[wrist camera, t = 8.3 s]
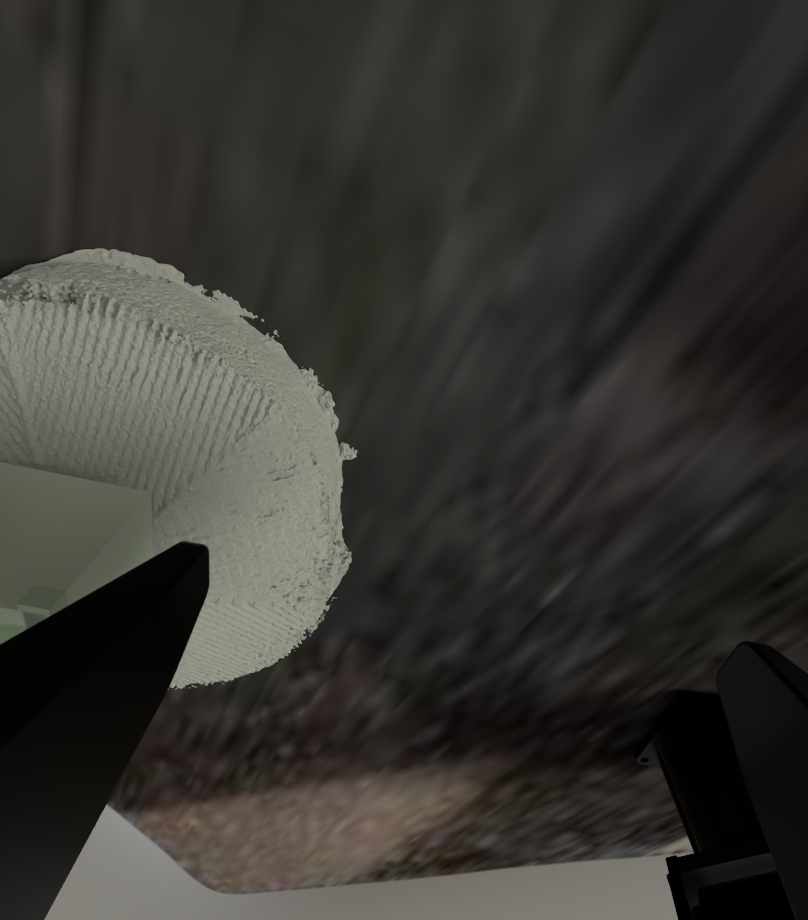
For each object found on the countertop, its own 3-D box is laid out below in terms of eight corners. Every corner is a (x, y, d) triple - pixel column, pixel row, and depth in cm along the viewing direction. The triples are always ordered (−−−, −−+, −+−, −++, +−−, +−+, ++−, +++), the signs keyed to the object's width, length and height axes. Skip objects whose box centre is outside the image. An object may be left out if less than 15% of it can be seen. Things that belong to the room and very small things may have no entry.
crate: (159, 682, 20) (85, 822, 16) (-4, 654, 20) (-126, 791, 15) (154, 487, 15) (49, 609, 11) (-58, 445, 15) (-255, 555, 11)
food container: (-179, 290, 20) (-440, 345, 14) (313, 211, 17) (248, 237, 11) (66, 638, 30) (-27, 755, 24) (400, 620, 27) (389, 747, 21)
